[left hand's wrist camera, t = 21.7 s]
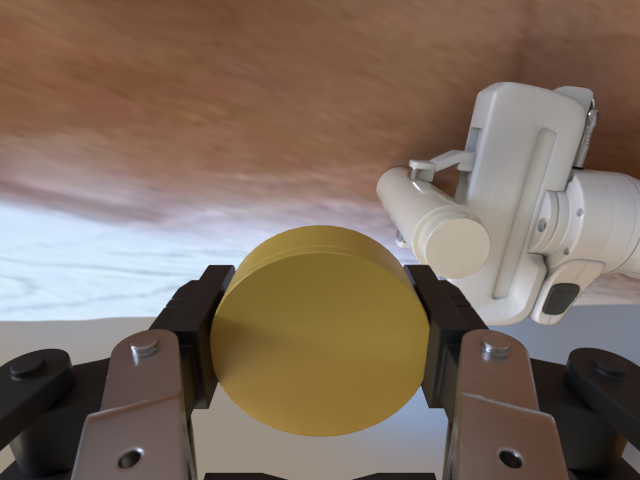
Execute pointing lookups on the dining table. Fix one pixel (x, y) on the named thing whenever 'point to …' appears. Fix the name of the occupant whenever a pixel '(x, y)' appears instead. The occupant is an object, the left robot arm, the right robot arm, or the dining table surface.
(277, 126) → the dining table surface
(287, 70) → the dining table surface
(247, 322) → the lid
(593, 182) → the right robot arm
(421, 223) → the white cylinder
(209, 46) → the dining table surface
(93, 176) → the dining table surface
